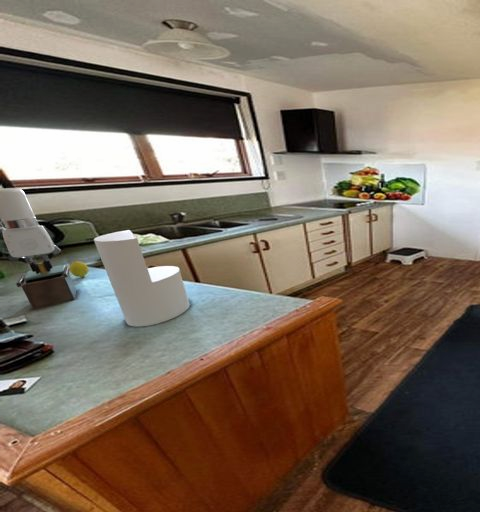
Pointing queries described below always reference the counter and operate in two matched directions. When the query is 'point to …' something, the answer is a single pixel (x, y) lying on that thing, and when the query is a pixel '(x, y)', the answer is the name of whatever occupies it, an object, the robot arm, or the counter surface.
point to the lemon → (78, 269)
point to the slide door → (44, 271)
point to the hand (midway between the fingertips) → (44, 271)
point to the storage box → (48, 289)
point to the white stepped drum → (141, 281)
